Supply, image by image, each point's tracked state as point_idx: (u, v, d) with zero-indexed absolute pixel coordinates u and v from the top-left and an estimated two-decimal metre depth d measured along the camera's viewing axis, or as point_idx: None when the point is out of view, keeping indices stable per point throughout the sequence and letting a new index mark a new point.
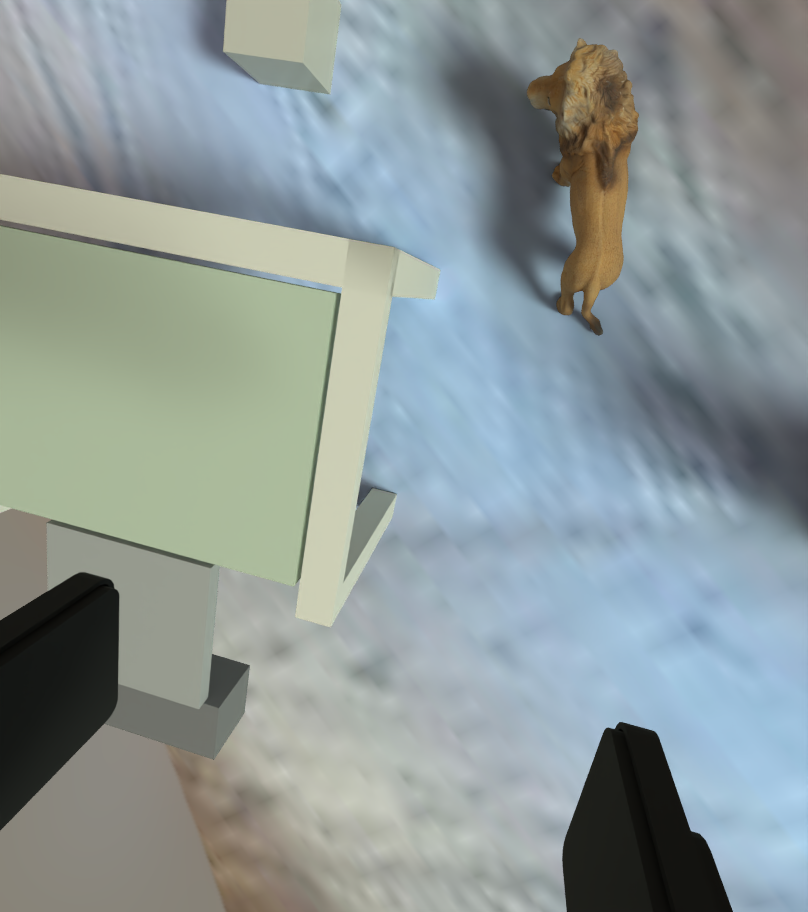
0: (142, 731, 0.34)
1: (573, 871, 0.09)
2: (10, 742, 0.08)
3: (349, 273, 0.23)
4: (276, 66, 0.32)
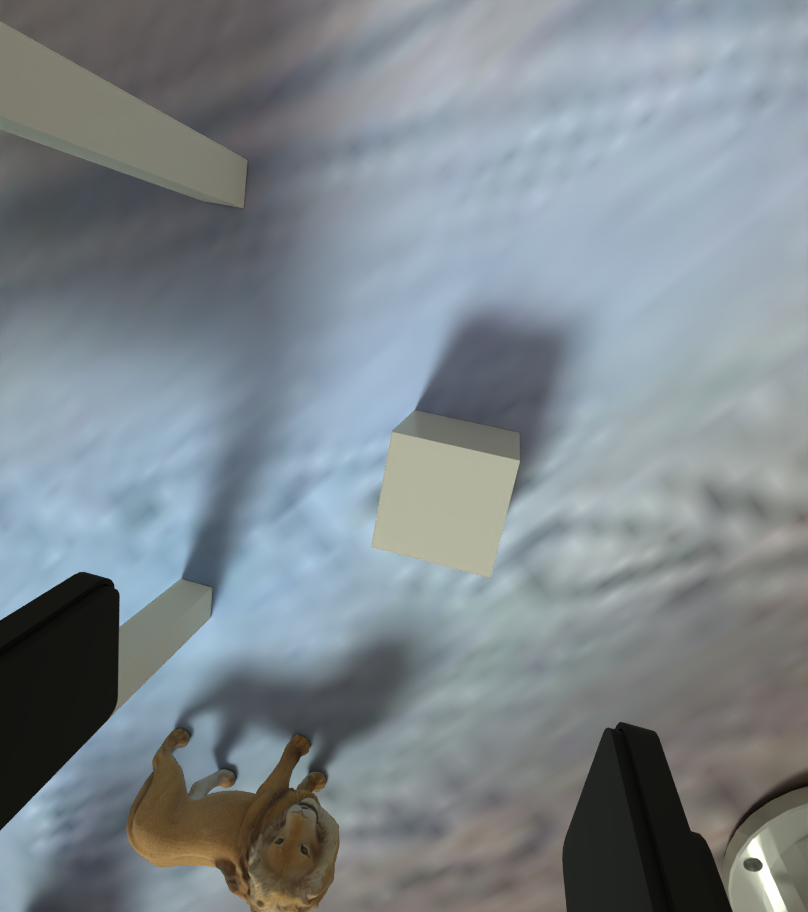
0: None
1: (573, 871, 0.09)
2: (10, 742, 0.08)
3: None
4: None
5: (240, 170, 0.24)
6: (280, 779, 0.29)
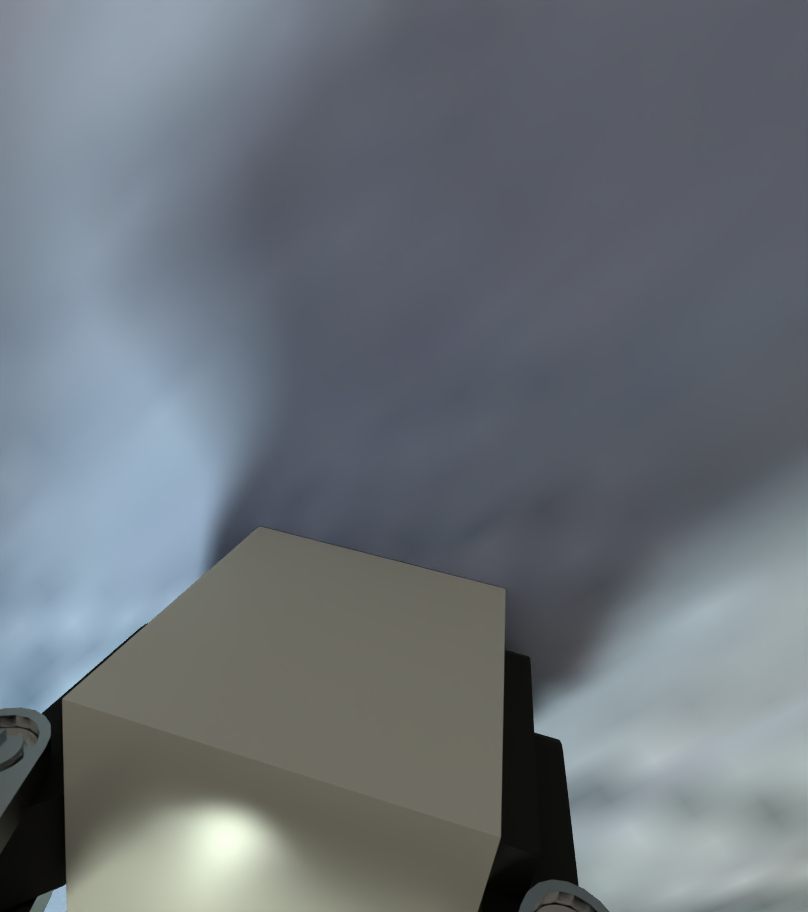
0: None
1: None
2: None
3: None
4: None
5: None
6: None
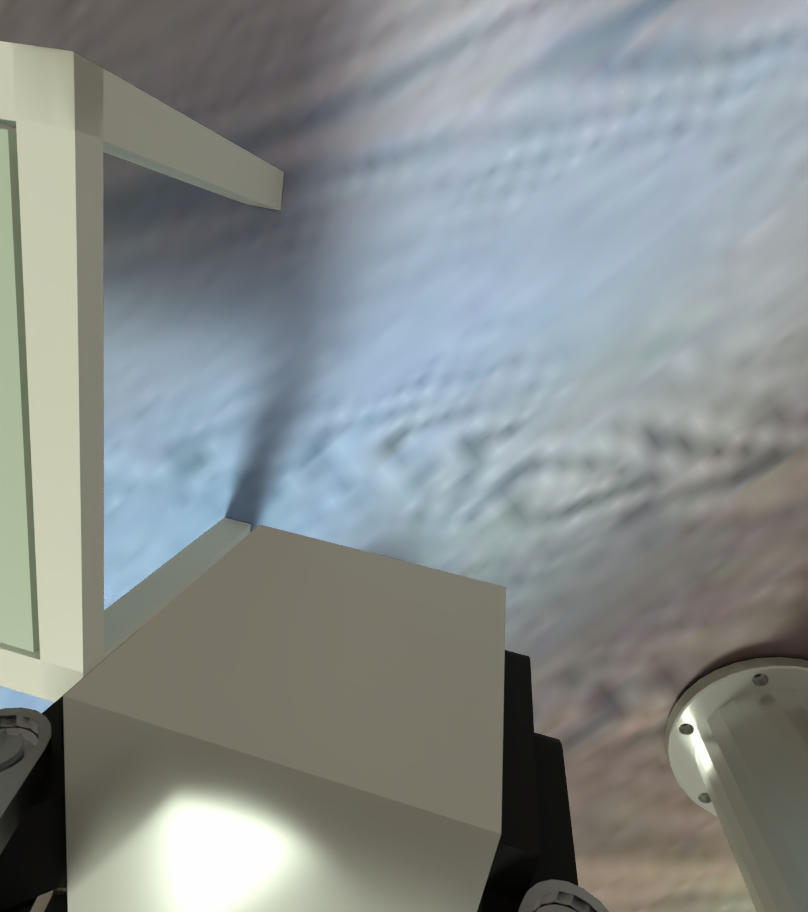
0: None
1: None
2: None
3: (53, 668, 0.22)
4: None
5: (279, 180, 0.30)
6: None
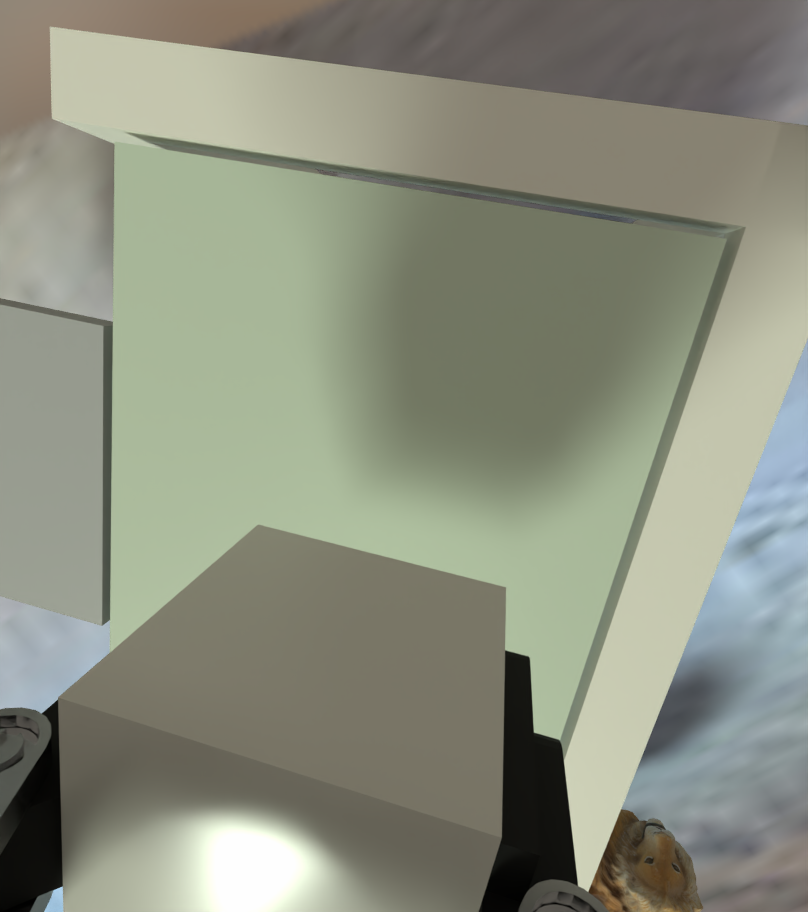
0: None
1: None
2: None
3: None
4: None
5: None
6: None
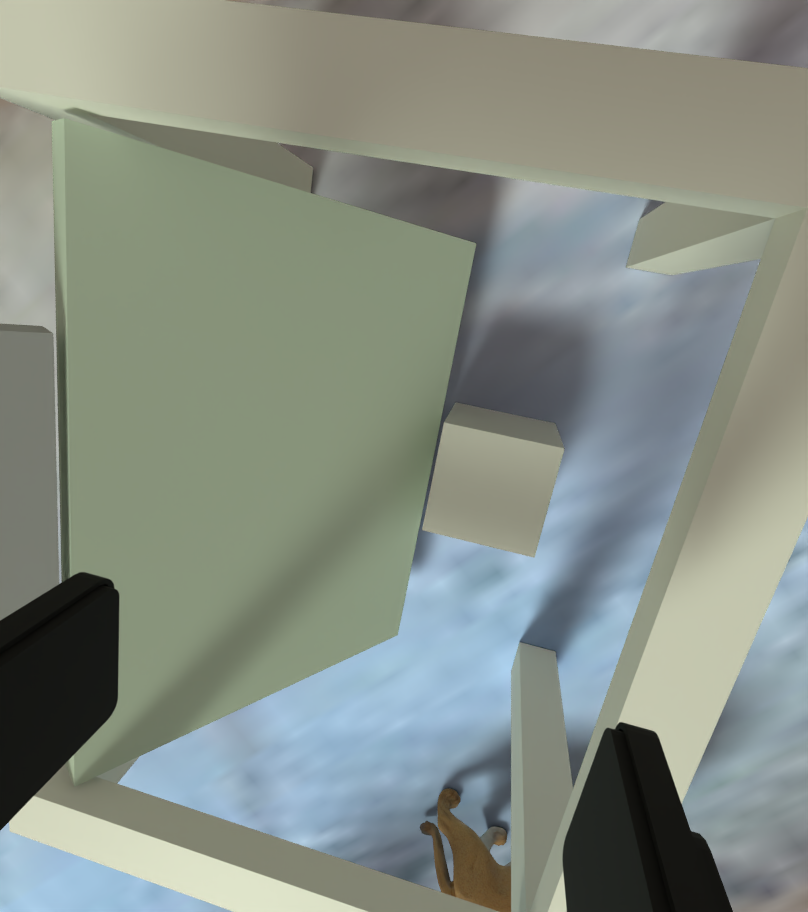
0: None
1: (573, 871, 0.09)
2: (10, 742, 0.08)
3: None
4: (517, 504, 0.23)
5: None
6: None
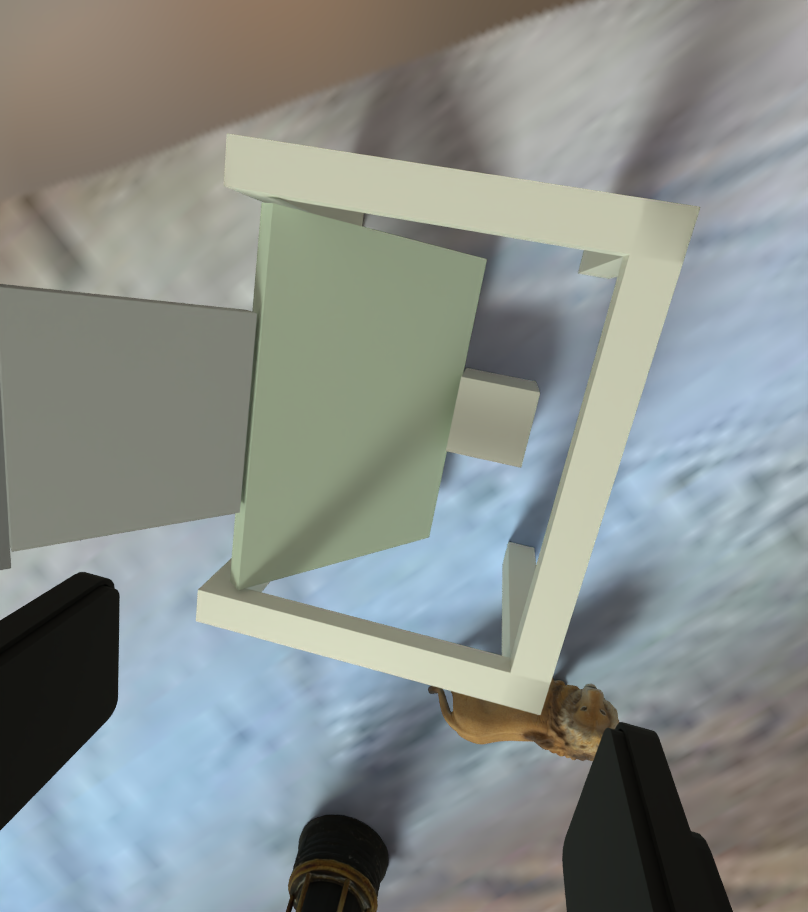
0: None
1: (573, 871, 0.09)
2: (10, 742, 0.08)
3: (521, 680, 0.27)
4: (509, 431, 0.34)
5: None
6: None
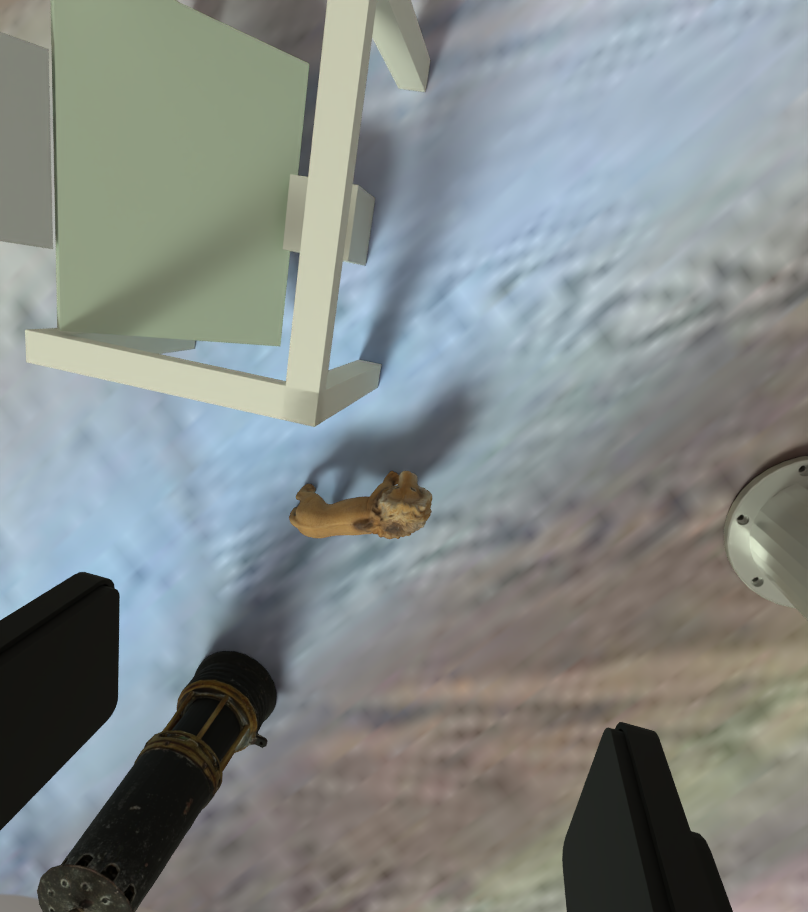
0: None
1: (573, 871, 0.09)
2: (10, 742, 0.08)
3: (295, 392, 0.31)
4: None
5: (427, 65, 0.38)
6: (386, 485, 0.45)
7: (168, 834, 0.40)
